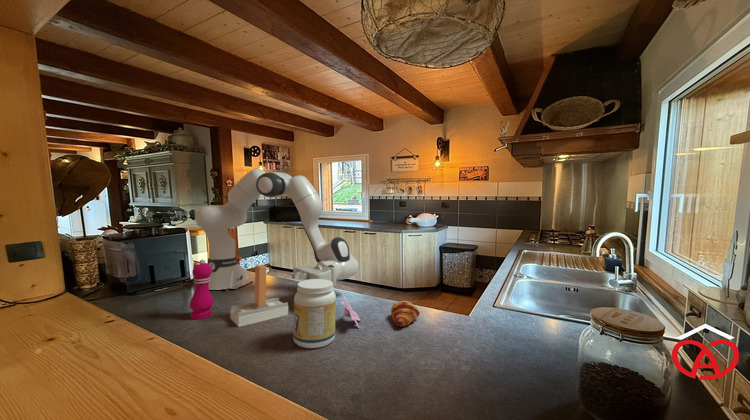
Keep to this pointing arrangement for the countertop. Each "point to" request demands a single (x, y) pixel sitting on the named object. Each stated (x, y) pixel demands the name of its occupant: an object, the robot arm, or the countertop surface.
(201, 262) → the pepper mill
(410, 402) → the countertop surface
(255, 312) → the white base plate
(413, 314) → the croissant
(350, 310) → the lily
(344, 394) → the countertop surface
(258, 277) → the lever
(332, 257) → the robot arm
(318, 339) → the supplement tub
